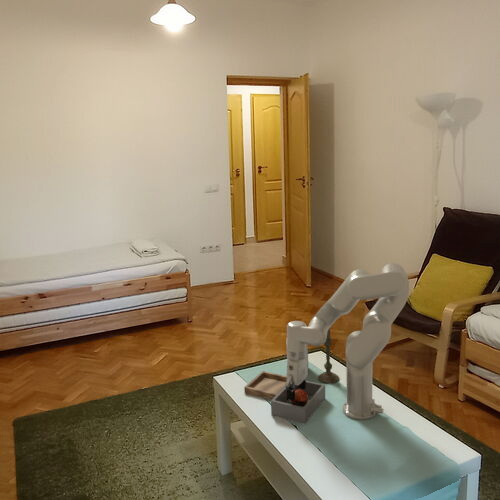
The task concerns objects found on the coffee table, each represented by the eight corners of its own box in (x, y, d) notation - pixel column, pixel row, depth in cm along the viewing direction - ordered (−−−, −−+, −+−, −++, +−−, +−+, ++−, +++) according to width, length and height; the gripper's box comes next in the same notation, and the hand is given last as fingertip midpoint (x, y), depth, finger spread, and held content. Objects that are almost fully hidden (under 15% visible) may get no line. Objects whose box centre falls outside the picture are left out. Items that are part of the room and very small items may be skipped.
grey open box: (325, 398, 194) (325, 384, 193) (305, 424, 177) (304, 409, 176) (293, 391, 201) (293, 377, 200) (271, 415, 184) (270, 400, 183)
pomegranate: (307, 416, 186) (313, 392, 192) (301, 408, 181) (307, 383, 187) (290, 414, 190) (296, 390, 195) (283, 406, 185) (290, 382, 191)
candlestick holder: (326, 371, 216) (325, 308, 210) (343, 378, 209) (342, 313, 203) (313, 379, 210) (311, 314, 204) (330, 386, 203) (329, 319, 197)
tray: (295, 383, 207) (295, 378, 206) (278, 401, 194) (278, 395, 193) (263, 376, 215) (262, 371, 214) (244, 392, 202) (244, 387, 201)
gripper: (295, 364, 175) (295, 406, 179) (314, 346, 190) (314, 386, 193) (277, 360, 179) (277, 401, 183) (297, 343, 193) (297, 382, 197)
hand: (296, 393), depth 188 cm, fingers open, 9 cm apart
